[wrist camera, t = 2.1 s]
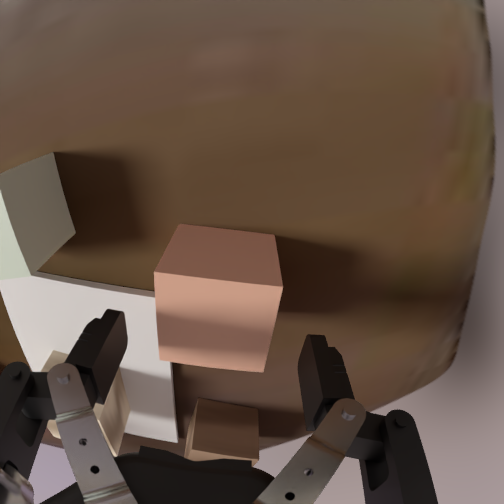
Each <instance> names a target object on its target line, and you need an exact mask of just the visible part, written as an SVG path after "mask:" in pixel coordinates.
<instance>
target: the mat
mask: <svg viewBox="0 0 504 504" xmlns="http://www.w3.org/2000/svg"><path fill="white" fill-rule="evenodd" d="M0 290H1V294H2V297H3V300H4V303H5V306H6V309H7V311H8V314H9V317H10V320H11V322H12V325H13V328H14V330H15V333H16V335H17V338H18V340H19V342H20V345H21V347H22V349H23V352H24V354H25V356H26V358H27V361H28V363H29V365H30V367H31V369H32V371H33V372H41V370H42V368H43V366H44V365H45V363H46V361H47V360H48V358H49V356H50V355H51V353H52V351H53V350H55V351H59V352H62V353H66V354H69V353H70V352H71V350H72V348H73V346H74V345H75V343H76V341H77V340H78V339H79V336H80V335H81V333H82V332H83V330H84V328H85V327H86V325H87V324H88V323H89V322H90V321H92V320H93V319H94V318H100V319H101V317H102V316H103V314H104V312H105V311H106V310H107V309H113V310H118V311H123V312H124V314H125V321H126V328H127V335H128V345H127V349H126V352H125V354H124V357H123V359H122V361H121V364H120V366H119V367H120V372H121V376H122V380H123V384H124V388H125V391H126V395H127V399H128V402H129V406H130V409H131V410H130V414H129V417H128V420H127V424H126V427H125V431H124V432H125V433H130V434H134V435H138V436H143V437H148V438H153V439H158V440H164V441H169V442H176V443H178V429H177V419H176V409H175V397H174V385H173V370H172V362H169V361H162V360H160V359H159V348H158V336H157V322H156V305H155V291H148V290H141V289H135V288H128V287H122V286H116V285H109V284H103V283H97V282H92V281H86V280H80V279H75V278H69V277H64V276H58V275H53V274H48V273H43V272H38V271H36V272H35V273H34V274H33V275H32V276H29V277H21V278H13V279H4V280H0Z"/></svg>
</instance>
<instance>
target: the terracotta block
mask: <svg viewBox="0 0 504 504" xmlns="http://www.w3.org/2000/svg"><path fill="white" fill-rule="evenodd" d="M154 283H155V305H156V322H157V336H158V348H159V359H160V360H162V361H169V362H175V363H182V364H189V365H196V366H204V367H213V368H221V369H231V370H241V371H253V372H263V371H264V366H265V362H266V358H267V354H268V350H269V346H270V342H271V338H272V333H273V329H274V325H275V320H276V316H277V312H278V307H279V303H280V299H281V294H282V290H283V283H282V277H281V271H280V265H279V259H278V253H277V247H276V241H275V235H272V234H264V233H256V232H248V231H239V230H231V229H222V228H214V227H205V226H196V225H187V224H179V225H178V227H177V229H176V231H175V233H174V235H173V236H172V238H171V240H170V242H169V244H168V246H167V248H166V250H165V252H164V253H163V255H162V257H161V259H160V261H159V263H158V265H157V267H156V269H155V271H154Z"/></svg>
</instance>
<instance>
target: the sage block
mask: <svg viewBox="0 0 504 504" xmlns="http://www.w3.org/2000/svg"><path fill="white" fill-rule="evenodd" d="M75 233H76V232H75V229H74V226H73V223H72V219H71V216H70V213H69V210H68V206H67V203H66V200H65V196H64V193H63V189H62V185H61V182H60V178H59V174H58V170H57V166H56V162H55V157H54V153H53V152H52V153H49V154H47V155H44V156H41V157H39V158H36V159H34V160H31V161H29V162H26V163H24V164H22V165H19V166H17V167H14V168H12V169H10V170H8V171H5V172H3V173H1V174H0V280H4V279H13V278H21V277H29V276H32V275H33V274H34V273H35V272H36V271H37V270H38V269H39V268H40V267H41V266H42V265H43V264H44V263H45V262H46V261H47V260H48V259H49V258H50V257H51V256H52V255H53V254H54V253H55V252H56V251H57V250H58V249H59V248H60V247H61V246H63V245H64V244H65V243H66V242H67V241H68V240H69V239H70V238H71V237H72V236H73V235H74V234H75Z"/></svg>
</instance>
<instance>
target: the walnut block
mask: <svg viewBox="0 0 504 504" xmlns="http://www.w3.org/2000/svg"><path fill="white" fill-rule="evenodd" d="M184 458H187V459H190V460H192V461H205V460H214V459H223V458H226V459H239V460H252V467H253V466H254V465H255V464H256V463H257V461H258V460H259V424H258V409H255V408H249V407H244V406H238V405H232V404H227V403H222V402H217V401H212V400H208V399H203V398H199V397H198V400H197V403H196V406H195V409H194V412H193V415H192V418H191V421H190V424H189V428H188V435H187V442H186V449H185V456H184Z"/></svg>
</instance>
